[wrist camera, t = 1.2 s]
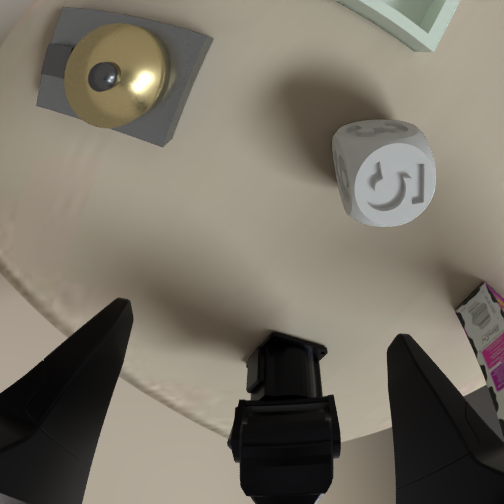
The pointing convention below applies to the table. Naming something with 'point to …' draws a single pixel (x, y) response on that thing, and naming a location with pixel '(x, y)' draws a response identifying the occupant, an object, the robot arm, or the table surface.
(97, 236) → the table surface
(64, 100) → the call bell
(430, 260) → the table surface
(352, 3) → the tray
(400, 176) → the die
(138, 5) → the table surface
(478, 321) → the candy bar box
